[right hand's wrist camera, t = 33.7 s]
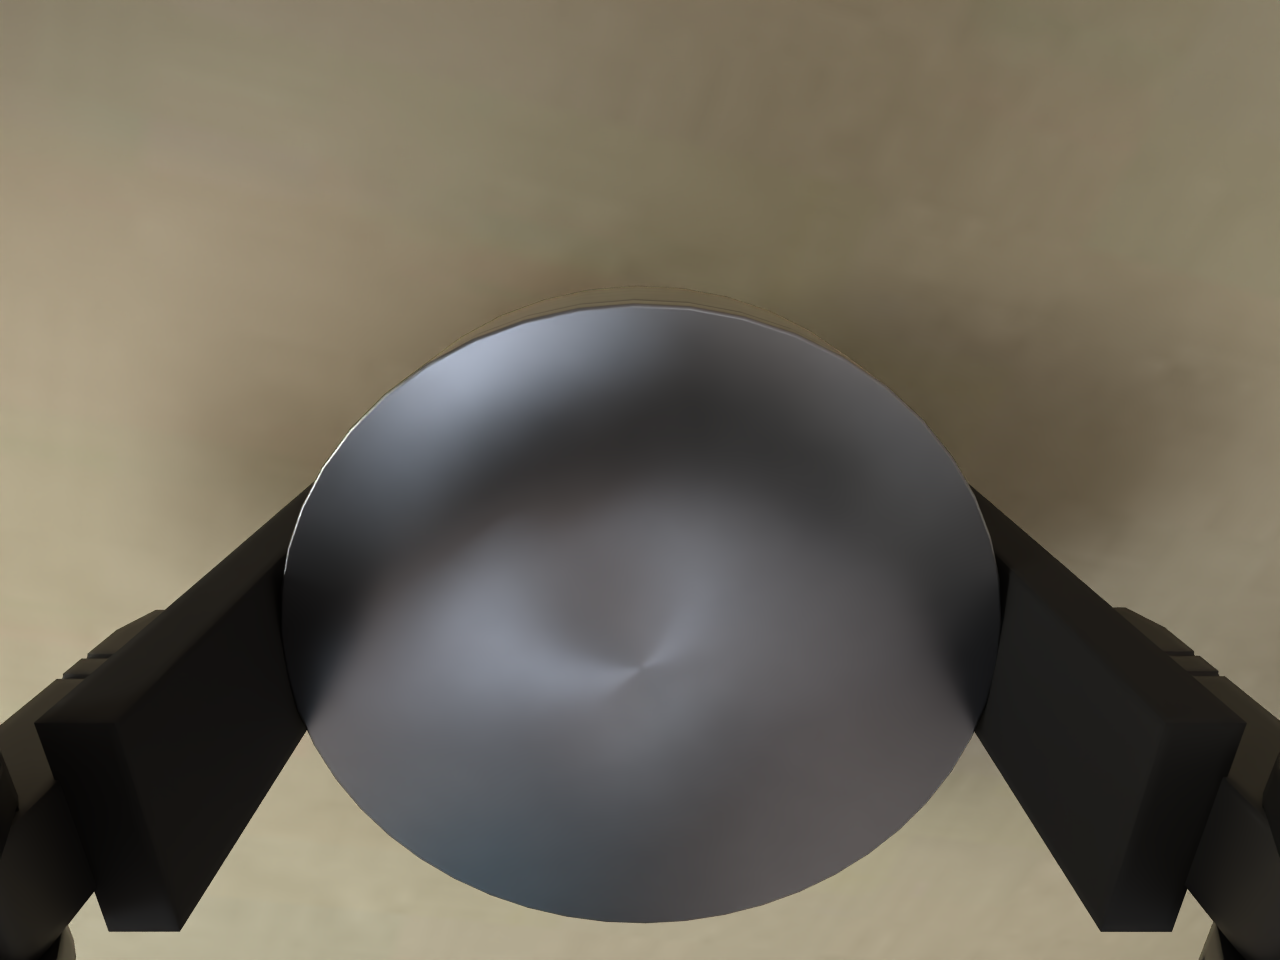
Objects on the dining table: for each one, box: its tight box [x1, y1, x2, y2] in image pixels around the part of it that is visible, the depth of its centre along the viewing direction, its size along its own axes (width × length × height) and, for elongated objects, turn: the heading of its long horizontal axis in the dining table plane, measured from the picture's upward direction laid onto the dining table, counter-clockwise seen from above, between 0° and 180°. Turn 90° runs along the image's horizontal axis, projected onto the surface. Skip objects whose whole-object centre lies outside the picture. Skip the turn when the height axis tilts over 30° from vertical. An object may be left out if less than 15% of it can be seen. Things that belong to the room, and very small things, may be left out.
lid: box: [281, 286, 1002, 923], centre depth 11 cm, size 10×10×2 cm
